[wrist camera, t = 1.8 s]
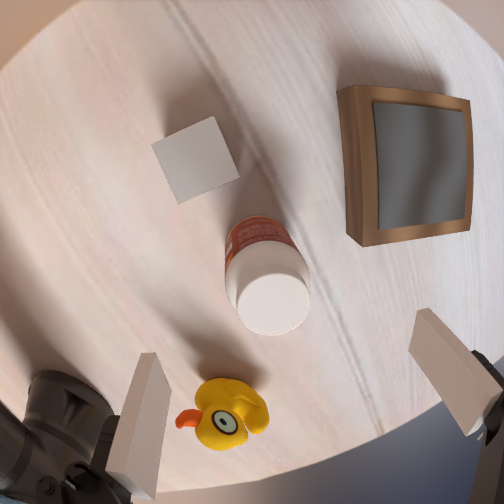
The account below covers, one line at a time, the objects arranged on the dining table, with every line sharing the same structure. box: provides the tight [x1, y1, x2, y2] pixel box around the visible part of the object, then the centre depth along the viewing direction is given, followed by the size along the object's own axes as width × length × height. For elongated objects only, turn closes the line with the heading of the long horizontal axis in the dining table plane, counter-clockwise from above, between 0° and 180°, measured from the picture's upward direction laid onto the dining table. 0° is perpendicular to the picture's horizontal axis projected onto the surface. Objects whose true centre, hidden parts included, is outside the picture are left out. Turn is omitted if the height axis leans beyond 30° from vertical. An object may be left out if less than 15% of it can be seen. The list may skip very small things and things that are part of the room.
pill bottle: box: [225, 216, 311, 336], centre depth 23 cm, size 6×6×11 cm
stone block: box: [152, 116, 240, 204], centre depth 23 cm, size 5×5×5 cm
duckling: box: [175, 378, 269, 451], centre depth 30 cm, size 11×5×10 cm, turn 60°
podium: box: [336, 85, 474, 247], centre depth 24 cm, size 14×14×4 cm
